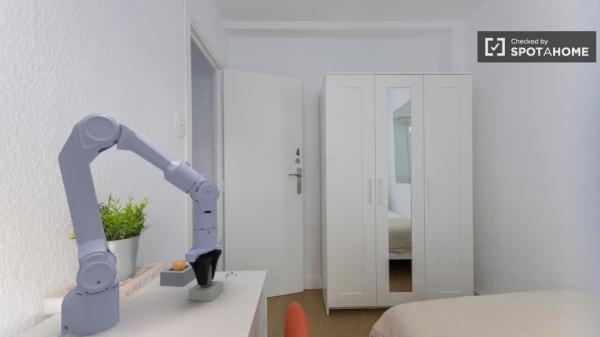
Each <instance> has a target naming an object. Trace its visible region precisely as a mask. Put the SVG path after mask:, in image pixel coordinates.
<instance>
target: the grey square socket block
mask: <svg viewBox="0 0 600 337" xmlns="http://www.w3.org/2000/svg"><path fill="white" fill-rule="evenodd" d="M195 279H196V276H195V273H194V270H193V268H192V267H191V265H190V264H189V263H185V269H184V270H182V271H173V264H172V265H170V266H168V267H167V268H165V269H162V270H161V271H160V272H159V284H160V286H161V287H185V286H186V285H188V284H189V283H191V282H192V281H194V280H195Z"/></svg>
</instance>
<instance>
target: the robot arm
mask: <svg viewBox="0 0 600 337" xmlns="http://www.w3.org/2000/svg"><path fill="white" fill-rule="evenodd" d="M71 129H72V130H71V133H70V134H69V135H68V137H67V139H66V141H65V143H64V145H63V146H62V148H61V150H60V152H59V153H58V157H57V159H58V161H57V162H58V166H59V170H60V174H61V178H62V183H63V187H64V193H65V196H66V201H67V205H68V211H69V214H70V218H71V222H72V228H73V231H74V235H75V241H76V244H77V260H78V265H79V266H78V267H79V268H78V271H77V273H76V277H75V281H76V284H77V286H75V287H73V288H71V289H69V291H67V293H65V295H64V297H63V299H62V301H61V308H60V309H61V310H60V311H61V312H60V320H61V322H60V325H61V326H60V330H61V332H60V334H59V335H58V336H57V337H66V336H67V335H69V334H71V333H73V334H74V333H75V334H77V335H79V336H80V335H81V336H87V335H94V334H98V333H101V332H104V331H106V330H109V329H110V328H113V327H114V326H116V325H117V324H118V323H119V322H120V320H121V318H120V315H121V314H120V312H121V310H120V308H121V307H120V279H119V278H117V274H118V273H117V272H118V270H117V261H118V260H117V257H116V254H115V253H113V252H112V250H111V249H110V248H109V243H108V240H107V238H106V234H105V229H104V224H103V220H102V215H101V212H100V211H101V210H100V207H99V206H100V205H99V203H98V197H97V193H96V189H95V183H94V179H93V174H92V171H91V163H93V162H94V161H95V160H96V158H97V157H98V156H100V154H101V153H103V152H105V151H107V150H109V149H111V148H112V147H114V146H115V145H116V150H118V151H119V150H121V151H129V152H132V153H134V154H136V155H137V156H139V157H140V158H142V159H143V160H145V161H146V162H148V163H149V164H151V165H153V166H155V167H156V168H157V169H159V170H161V171H162V172H163V177H164V180H165V181H166V182H168V183H169V184H171V185H173V186H174V187H176V188H177V189H179V190H180V191H182V193H184V194H186V195H189V197H190V198H191V200H193V201H192V244H193V246H192V247H191V248H190V249H189V250H188V251H187V252H186V253H185V255H184V256H185V259H184V261H185V263H188V264H190V265H191V267H192V268H193V270H194V273H195V276H196V278H195V279H196V284H197V283H198V285H207V282H208V273H209V267H210V264H211V265H212V281H214V279H215V275H216V270H217V266H218V262H219V259H220V257H221V255H222V251H223V250H222V249H221V248H222V246H223V239H222V238H218V221H217V220H218V219H217V218H218V216H217V215H218V214H217V213H218V212H217V200H218V199H219V197H220V194H221V191H220V190H219V187H218V185H217V184H216V183H215V182H213V181H211V180H206V178H207V176H206V175H205V174H200V173H198V172H197V171H196V170H195V169H193V168H192V167H190V166H191V165H192V164H191V163H190V162H188V161H183V160H180V159H179V160H172V159H171V158H169V157H168V156H166V154H164V153H163V152H161V151H160V150H159V149H157V147H155V146H154V145H152V143H150V142H149V141H148V140H146V139H145V138H143V137H142V136H140V135H139V134H138V133H137V132H135V131H134V130H132V129H131V128H129V126H126V125H124V124H123V123H121V122H119V123H118V122H117V121H116V120H115V119H114V118H113V117H111V116H110V115H108V114H105V113H100V112H99V113H97V112H95V113H91V114H88V115H86V116H85V117H83V118H82V119H80V120H79V121H78V122H76V124H74V125H73V127H72V128H71Z"/></svg>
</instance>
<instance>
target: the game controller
mask: <svg viewBox="0 0 600 337" xmlns="http://www.w3.org/2000/svg"><path fill="white" fill-rule="evenodd" d="M233 274H235V276H237V273H235V272H234V271H229V272H228V273H226V274H225V275H224V279H229V278H230V277H231V276H232V275H233Z"/></svg>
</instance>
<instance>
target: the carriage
mask: <svg viewBox="0 0 600 337" xmlns="http://www.w3.org/2000/svg"><path fill="white" fill-rule="evenodd" d="M223 283H224V282H223V281H221V280H220V281H219V280H212V265H211V264H210V267H209V273H208V282H207V285H198V283H197V282H196V284H195V285H193V286H192V287H191V288H189V289H188V290H187V291H188V292H187V294H188V301H193V302H195V301H198V302H200V301H201V302H213V301H214V300H215V299H216V298H217V297H219V295H220V294H221V293H222V292H223V290H224V284H223Z"/></svg>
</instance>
